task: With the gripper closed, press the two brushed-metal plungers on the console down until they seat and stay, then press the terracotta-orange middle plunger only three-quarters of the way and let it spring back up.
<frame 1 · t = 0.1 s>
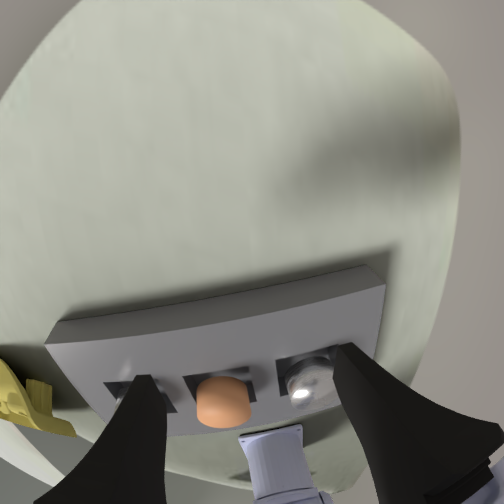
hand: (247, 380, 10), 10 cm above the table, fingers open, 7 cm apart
plunger a: (139, 411, 19), point 4 cm above the table, slide at 0.0 cm
plunger b: (313, 384, 20), point 4 cm above the table, slide at 0.0 cm
orange plunger: (223, 403, 19), point 4 cm above the table, slide at 0.0 cm
console: (219, 364, 23), on the table
plastic component: (19, 384, 22), on the table
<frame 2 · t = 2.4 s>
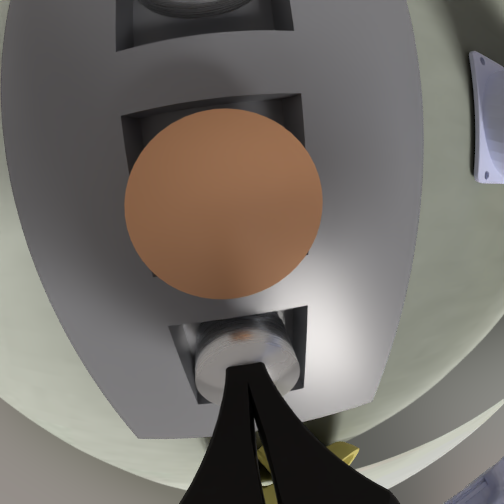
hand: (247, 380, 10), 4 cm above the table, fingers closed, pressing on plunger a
plunger a: (244, 359, 11), point 3 cm above the table, slide at 1.6 cm, touching gripper
orange plunger: (222, 197, 6), point 4 cm above the table, slide at 0.0 cm
console: (217, 171, 10), on the table
plastic component: (285, 455, 22), on the table
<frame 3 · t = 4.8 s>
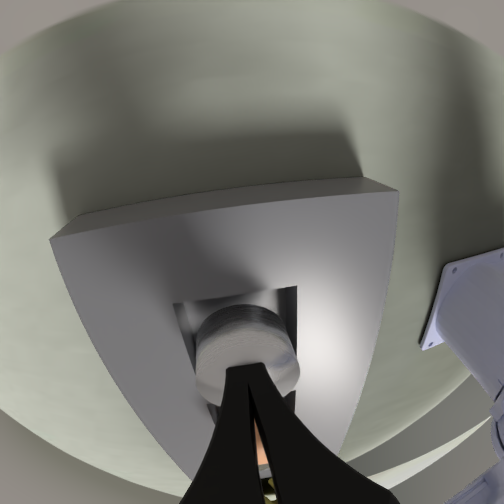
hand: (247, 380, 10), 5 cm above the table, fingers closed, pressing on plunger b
plunger a: (260, 451, 19), point 2 cm above the table, slide at 2.0 cm
plunger b: (245, 359, 11), point 4 cm above the table, slide at 0.2 cm, touching gripper
orange plunger: (258, 436, 14), point 4 cm above the table, slide at 0.0 cm
console: (248, 384, 18), on the table
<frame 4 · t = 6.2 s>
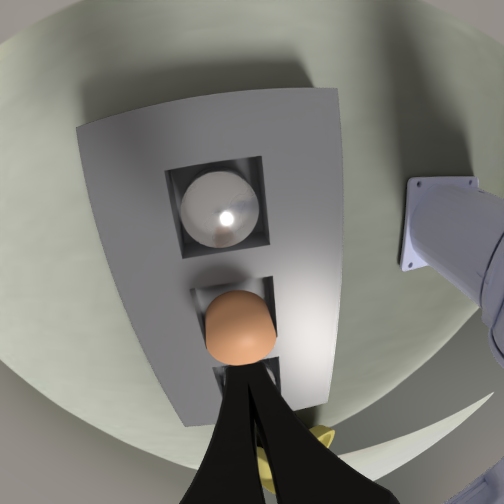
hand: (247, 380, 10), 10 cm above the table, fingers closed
plunger a: (248, 375, 21), point 2 cm above the table, slide at 2.0 cm
plunger b: (219, 205, 15), point 2 cm above the table, slide at 2.0 cm
orange plunger: (239, 328, 16), point 4 cm above the table, slide at 0.0 cm
console: (232, 290, 20), on the table
plastic component: (282, 438, 32), on the table
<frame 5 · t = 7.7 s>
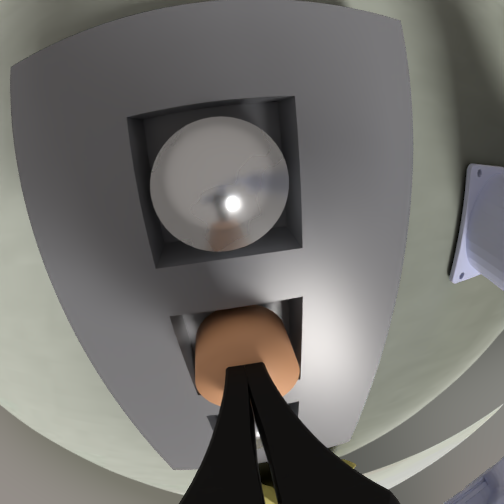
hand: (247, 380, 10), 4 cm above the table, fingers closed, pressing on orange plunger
plunger a: (254, 421, 15), point 2 cm above the table, slide at 2.0 cm
plunger b: (218, 179, 9), point 2 cm above the table, slide at 2.0 cm
orange plunger: (244, 359, 11), point 3 cm above the table, slide at 1.0 cm, touching gripper
console: (236, 312, 14), on the table
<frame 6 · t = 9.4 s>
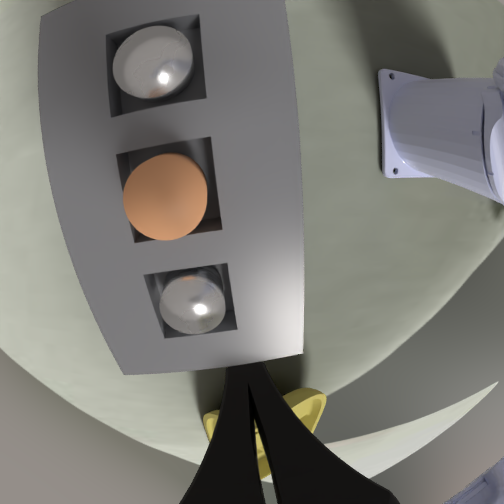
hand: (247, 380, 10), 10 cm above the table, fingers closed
plunger a: (192, 298, 17), point 2 cm above the table, slide at 2.0 cm
plunger b: (155, 65, 11), point 2 cm above the table, slide at 2.0 cm
orange plunger: (167, 194, 13), point 4 cm above the table, slide at 0.8 cm
console: (175, 181, 17), on the table
plastic component: (260, 412, 28), on the table
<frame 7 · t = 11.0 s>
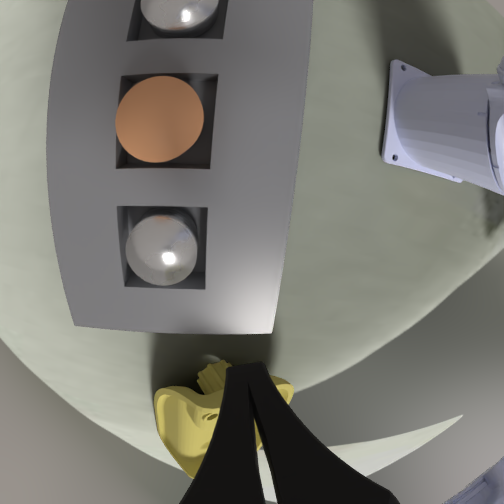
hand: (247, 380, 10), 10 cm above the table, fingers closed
plunger a: (163, 244, 16), point 2 cm above the table, slide at 2.0 cm
plunger b: (181, 5, 10), point 2 cm above the table, slide at 2.0 cm
orange plunger: (162, 119, 12), point 4 cm above the table, slide at 0.8 cm
console: (171, 121, 15), on the table
plastic component: (217, 401, 26), on the table
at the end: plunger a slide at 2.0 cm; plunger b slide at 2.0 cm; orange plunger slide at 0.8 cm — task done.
